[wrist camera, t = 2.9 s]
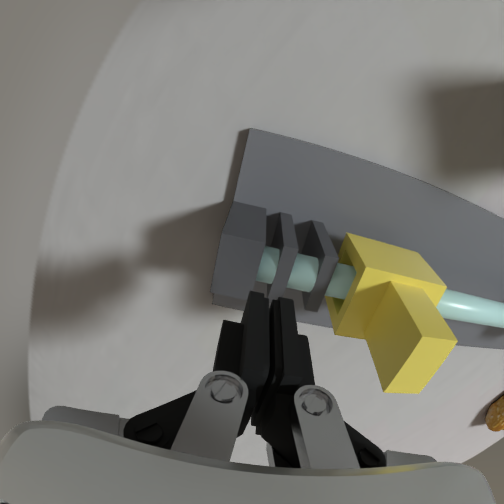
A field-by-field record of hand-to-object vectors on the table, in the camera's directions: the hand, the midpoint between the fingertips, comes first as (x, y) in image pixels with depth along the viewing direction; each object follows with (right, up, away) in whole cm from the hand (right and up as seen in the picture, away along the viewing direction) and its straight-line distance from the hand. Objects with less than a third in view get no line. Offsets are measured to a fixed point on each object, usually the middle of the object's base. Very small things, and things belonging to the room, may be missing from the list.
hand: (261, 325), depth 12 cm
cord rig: (+14, +1, +9) cm, 16 cm away
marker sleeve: (+7, +2, +6) cm, 9 cm away
